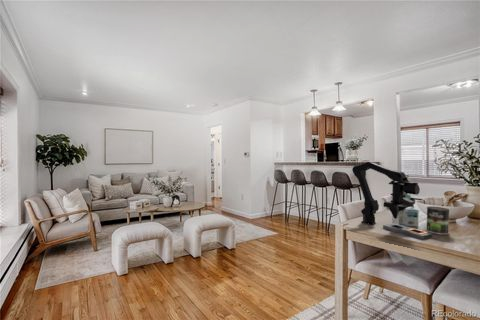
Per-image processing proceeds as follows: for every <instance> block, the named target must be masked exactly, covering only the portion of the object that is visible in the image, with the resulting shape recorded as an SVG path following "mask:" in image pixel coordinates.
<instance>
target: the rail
mask: <svg viewBox="0 0 480 320" xmlns="http://www.w3.org/2000/svg"><path fill="white" fill-rule="evenodd" d="M382 225H383V226H382V229H384V230H388V231H391V232H394V233H398V234H400V235H404V236H405V235H406V236H409V237H412V238H415V239H418V240H419V239H420V240H423V241H424V240H426V239H432V238H434V233H431V232H428V231H425V230H421V229H417V228H413V227H411V226H407V225H402V224H395V223H392V222H391V223H387V224H382Z"/></svg>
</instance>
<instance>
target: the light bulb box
mask: <svg viewBox="0 0 480 320" xmlns="http://www.w3.org/2000/svg"><path fill="white" fill-rule="evenodd" d="M414 208H415V207H414ZM414 208H412V207H408V208H406V209H404V211H403V225H404V226H406V227H416V228H417V227H419V214H420V213H419V211H420V210H419V209H417V208H415V209H414Z"/></svg>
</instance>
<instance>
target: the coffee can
mask: <svg viewBox="0 0 480 320" xmlns="http://www.w3.org/2000/svg"><path fill="white" fill-rule="evenodd" d="M449 224H450V209H449V208H445V207H441V206H427V207H426V232H429V233H433V234H436V235H446V236H447V235H449Z"/></svg>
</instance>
